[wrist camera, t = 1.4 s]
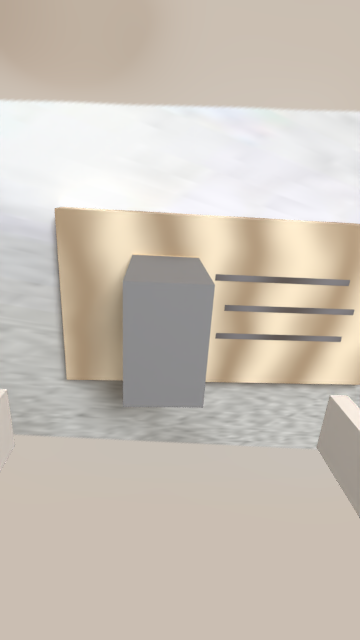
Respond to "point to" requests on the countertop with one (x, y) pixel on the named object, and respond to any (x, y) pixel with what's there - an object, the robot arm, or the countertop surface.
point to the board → (220, 292)
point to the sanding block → (166, 331)
